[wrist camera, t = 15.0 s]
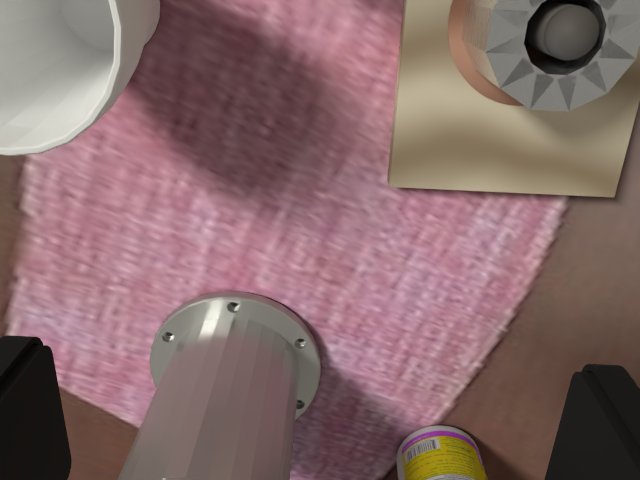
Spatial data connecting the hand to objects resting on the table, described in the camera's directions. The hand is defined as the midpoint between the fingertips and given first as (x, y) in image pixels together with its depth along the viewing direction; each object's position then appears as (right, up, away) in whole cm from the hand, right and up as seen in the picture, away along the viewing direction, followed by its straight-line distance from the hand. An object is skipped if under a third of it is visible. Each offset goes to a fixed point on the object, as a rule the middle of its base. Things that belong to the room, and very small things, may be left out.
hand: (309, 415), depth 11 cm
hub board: (+12, +14, +24) cm, 31 cm away
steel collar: (+12, +15, +22) cm, 29 cm away
